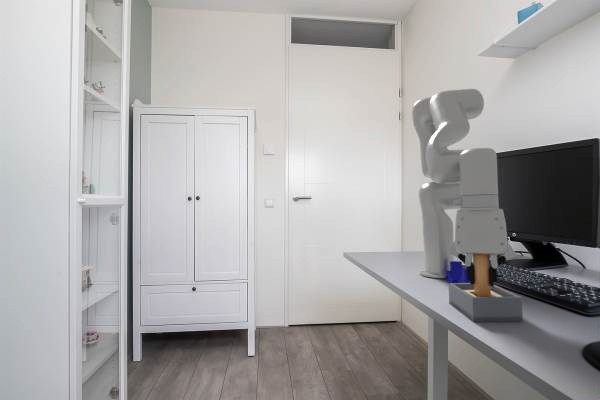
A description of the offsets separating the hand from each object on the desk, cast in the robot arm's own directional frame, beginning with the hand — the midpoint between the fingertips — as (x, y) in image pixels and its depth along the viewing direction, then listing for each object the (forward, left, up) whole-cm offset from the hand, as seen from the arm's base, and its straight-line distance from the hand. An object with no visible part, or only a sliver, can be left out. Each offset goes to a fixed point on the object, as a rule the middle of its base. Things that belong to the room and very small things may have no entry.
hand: (482, 283), depth 72 cm
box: (0, 0, -7) cm, 7 cm away
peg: (0, 0, -3) cm, 3 cm away
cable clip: (-23, -7, -7) cm, 25 cm away
